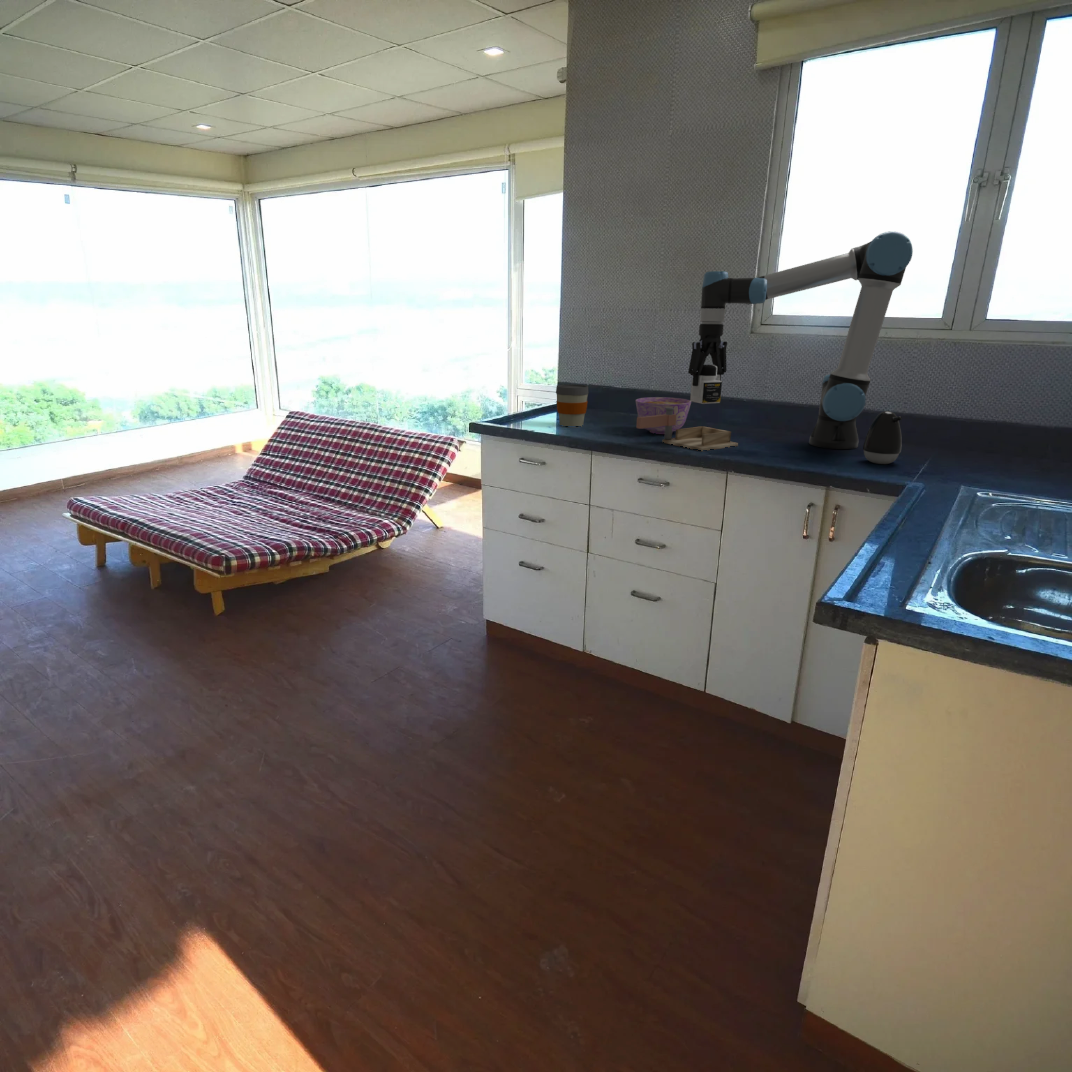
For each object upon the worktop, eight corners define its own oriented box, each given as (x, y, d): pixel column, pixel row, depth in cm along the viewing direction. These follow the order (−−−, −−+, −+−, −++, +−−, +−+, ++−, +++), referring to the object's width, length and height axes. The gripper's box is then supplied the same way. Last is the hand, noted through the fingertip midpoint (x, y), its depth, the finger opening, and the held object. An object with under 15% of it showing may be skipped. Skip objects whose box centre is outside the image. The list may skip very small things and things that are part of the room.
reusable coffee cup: (550, 423, 271) (551, 384, 266) (580, 422, 275) (581, 383, 270) (561, 428, 260) (562, 388, 255) (592, 427, 263) (593, 387, 259)
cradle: (737, 446, 229) (739, 432, 228) (701, 451, 220) (702, 437, 219) (698, 437, 243) (699, 424, 242) (662, 442, 235) (663, 429, 233)
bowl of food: (690, 438, 243) (692, 404, 239) (633, 436, 246) (634, 403, 242) (687, 428, 261) (690, 397, 258) (634, 427, 264) (636, 396, 261)
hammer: (640, 443, 226) (642, 411, 222) (634, 442, 228) (635, 410, 225) (674, 439, 234) (676, 408, 230) (668, 437, 236) (670, 407, 233)
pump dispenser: (878, 467, 200) (886, 414, 195) (853, 459, 209) (861, 409, 205) (907, 465, 203) (916, 413, 198) (881, 458, 212) (889, 408, 207)
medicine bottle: (702, 404, 224) (705, 366, 220) (689, 401, 230) (692, 364, 226) (720, 403, 226) (723, 365, 222) (707, 400, 232) (710, 363, 229)
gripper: (725, 322, 228) (718, 392, 236) (679, 323, 218) (674, 396, 225) (742, 323, 222) (735, 394, 230) (697, 323, 212) (691, 398, 219)
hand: (705, 395), depth 227 cm, fingers closed on medicine bottle, 8 cm apart
